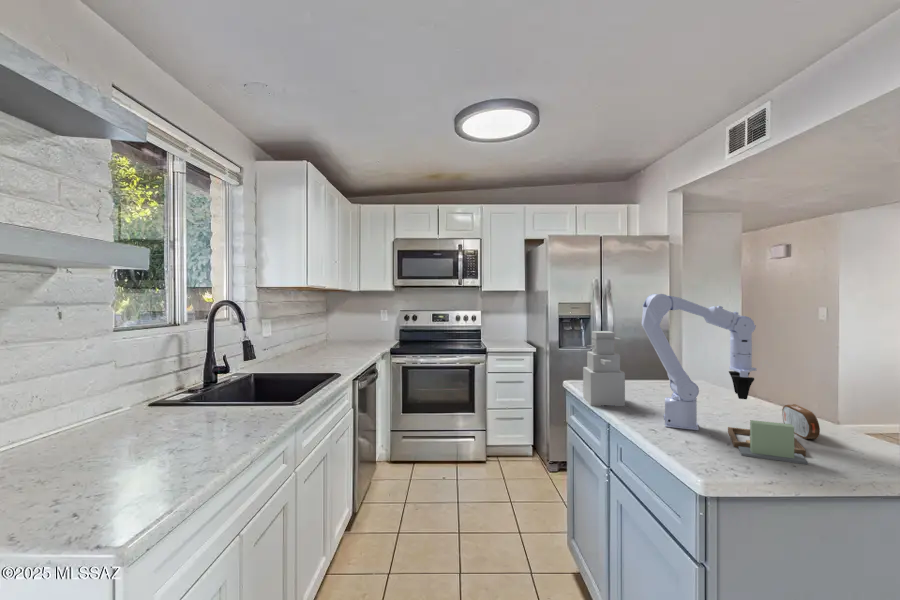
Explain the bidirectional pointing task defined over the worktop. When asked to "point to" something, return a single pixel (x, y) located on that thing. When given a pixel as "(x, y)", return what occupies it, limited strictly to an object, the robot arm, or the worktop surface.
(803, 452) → the brown flat square frame
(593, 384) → the stacked tiered boxes
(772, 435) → the board
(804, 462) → the slate mat
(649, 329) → the robot arm
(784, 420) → the tin
